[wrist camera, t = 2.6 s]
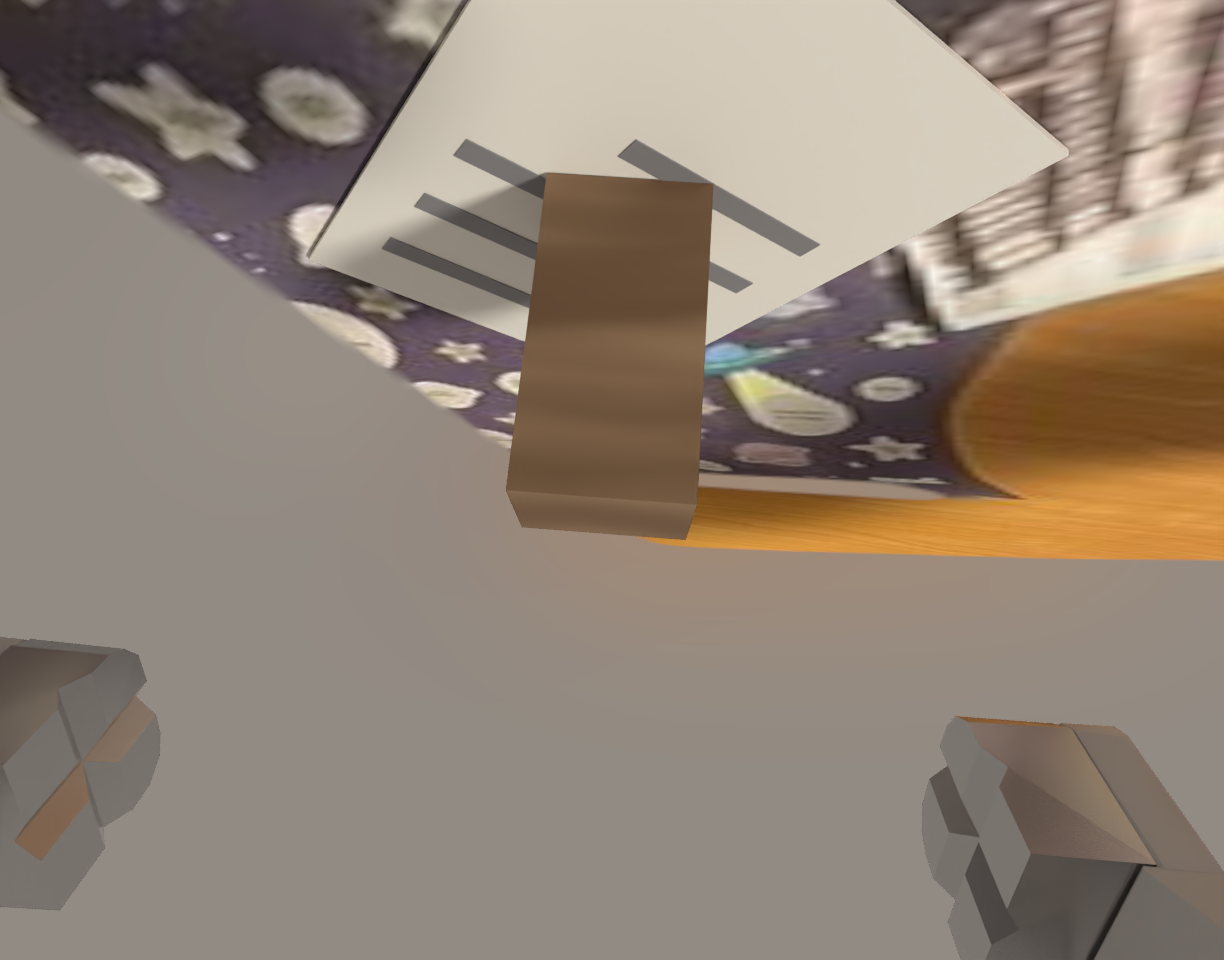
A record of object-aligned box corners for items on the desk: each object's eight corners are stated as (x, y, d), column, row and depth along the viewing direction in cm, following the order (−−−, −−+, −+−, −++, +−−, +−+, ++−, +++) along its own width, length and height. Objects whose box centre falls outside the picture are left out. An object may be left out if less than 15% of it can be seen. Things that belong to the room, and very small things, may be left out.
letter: (1068, 149, 18) (1068, 157, 18) (634, 378, 30) (633, 383, 30) (616, -239, 11) (615, -229, 11) (309, 255, 24) (308, 261, 24)
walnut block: (546, 173, 19) (505, 490, 17) (713, 183, 19) (697, 505, 17) (556, 246, 22) (521, 527, 20) (701, 255, 22) (685, 540, 20)
